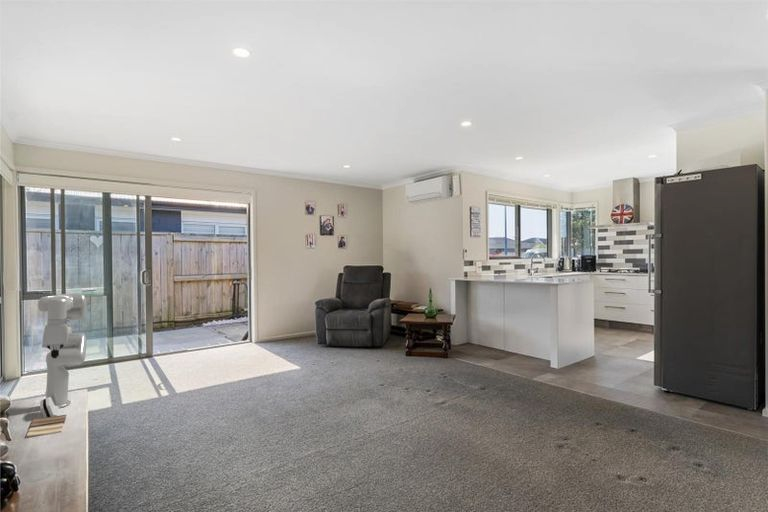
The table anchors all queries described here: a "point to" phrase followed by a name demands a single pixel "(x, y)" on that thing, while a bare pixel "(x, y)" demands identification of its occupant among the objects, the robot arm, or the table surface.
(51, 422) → the walnut board
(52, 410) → the white curved device
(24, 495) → the table surface
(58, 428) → the oak plank
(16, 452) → the table surface
